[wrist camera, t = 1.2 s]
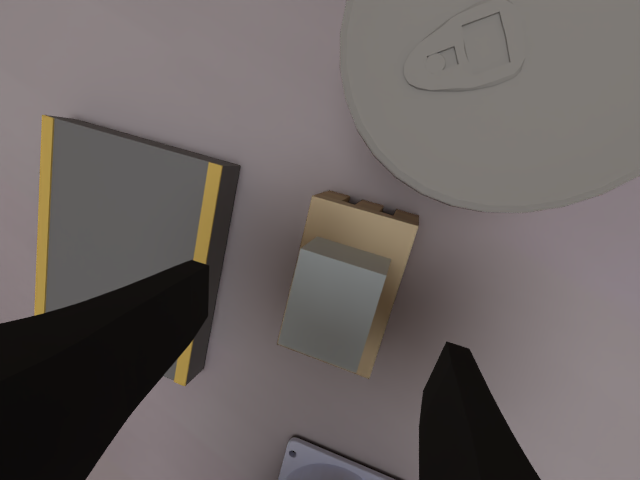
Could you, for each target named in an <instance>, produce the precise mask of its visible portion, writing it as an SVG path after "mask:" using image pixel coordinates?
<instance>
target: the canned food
mask: <svg viewBox="0 0 640 480" xmlns="http://www.w3.org/2000/svg"><path fill="white" fill-rule="evenodd" d="M340 71H341V77H342V83H343V89H344V95H345V99H346V102H347V105H348V107H349V110H350V112H351V115H352V118H353V120H354V123H355V125H356V128H357V130H358V132H359V134H360V135H361V137H362V138H363V140H364V142H365V143H366V145H367V146H368V148H369V149H370V151H371V152H372V154H373V155H374V157H375V158H376V159H377V160H378V161H379V162H380V163H381V164H382V165H383V166H384V167H385V168H386V169H387V170H388V171H389V172H390V173H391V174H392V175H393V176H394V177H396V178H397V179H399V180H400V181H402V182H403V183H405V184H406V185H408V186H409V187H411V188H412V189H414V190H415V191H417V192H418V193H420V194H422V195H425V196H427V197H430V198H432V199H435V200H437V201H440V202H442V203H445V204H447V205H449V206H454V207H460V208H465V209H470V210H475V211H480V212H496V213H527V212H533V211H540V210H547V209H553V208H560V207H565V206H568V205H571V204H574V203H577V202H580V201H583V200H586V199H589V198H593V197H596V196H599V195H602V194H604V193H606V192H608V191H610V190H612V189H614V188H616V187H618V186H620V185H622V184H624V183H626V182H628V181H630V180H632V179H634V178H636V177H638V176H640V0H347V1H346V6H345V11H344V16H343V21H342V26H341V31H340Z"/></svg>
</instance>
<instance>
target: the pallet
mask: <svg viewBox="0 0 640 480" xmlns="http://www.w3.org/2000/svg"><path fill="white" fill-rule="evenodd" d="M349 199H350V196H348V195H344V194H340V193H337V192H333V191H330V190H329V191H326V192H323V193H320V194H317V195H313V196H312V199H311V203H310V207H309V211H308V216H307V220H306V224H305V228H304V232H303V237H302V241H301V245H300V248H302V247H303V246H305V245H306V244H307V243H309V242H310V241H311V240H313V239H314V238H316V237H317V236H318V237H321V238H324V239H328V240H331V241H334V242H337V243H341V244H344V245H347V246H350V247H354V248H357V249H360V250H363V251H367V252H370V253H373V254H376V255H380V256H383V257H386V258H389V259H391V262H390V265H389V269H388V272H387V276H386V279H385V282H384V285H383V288H382V292H381V295H380V298H379V301H378V305H377V308H376V311H375V314H374V317H373V321H372V324H371V327H370V330H369V334H368V337H367V340H366V343H365V346H364V350H363V353H362V356H361V359H360V363H359V366H358V369H357V372H356V373H355V374H357V375H360V376H363V377H365V378H368V379H369V378H370V375H371V372H372V369H373V366H374V362H375V359H376V356H377V353H378V350H379V347H380V344H381V341H382V338H383V335H384V332H385V328H386V325H387V322H388V319H389V316H390V313H391V310H392V307H393V304H394V301H395V298H396V294H397V291H398V288H399V285H400V282H401V279H402V276H403V273H404V270H405V267H406V264H407V260H408V257H409V254H410V251H411V248H412V245H413V242H414V239H415V236H416V233H417V230H418V226H419V215H415V214H412V213H408V212H405V211H401V210H398V209H396V211H395V213H394V215H389V214H386V213H382V210H383V207H384V206H383V205H380V204H376V203H373V202H369V201H365V200H361V201H360V202H358V203H357V204H355V205H354V204H351V203H349ZM299 253H300V249H299ZM299 253H298V257H299ZM297 261H298V258H297ZM296 265H297V262H296ZM295 269H296V266H295ZM294 274H295V270H294ZM294 274H293V278H294ZM292 282H293V279H292ZM291 286H292V283H291ZM290 290H291V287H290ZM289 294H290V291H289ZM288 299H289V295H288ZM287 303H288V300H287ZM286 307H287V304H286ZM285 311H286V308H285ZM284 315H285V312H284ZM283 320H284V316H283ZM283 320H282V324H283ZM281 328H282V325H281ZM280 332H281V329H280ZM279 336H280V333H279ZM278 341H279V337H278ZM278 341H277V344H278ZM278 345H280V344H278ZM280 346H282V345H280ZM283 347H285V346H283ZM286 348H288V347H286ZM288 349H290V348H288ZM291 350H293V349H291ZM293 351H296V350H293ZM296 352H298V351H296ZM299 353H301V352H299ZM301 354H304V353H301ZM304 355H306V354H304ZM307 356H309V355H307ZM309 357H312V356H309ZM312 358H314V357H312ZM315 359H317V358H315ZM317 360H320V359H317ZM320 361H322V360H320ZM323 362H325V361H323ZM325 363H328V362H325ZM328 364H330V363H328ZM331 365H333V364H331ZM333 366H336V365H333ZM336 367H338V366H336ZM339 368H341V367H339ZM341 369H343V368H341ZM344 370H346V369H344ZM347 371H349V370H347ZM349 372H351V371H349ZM352 373H354V372H352Z"/></svg>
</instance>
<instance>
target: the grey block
mask: <svg viewBox="0 0 640 480" xmlns="http://www.w3.org/2000/svg"><path fill="white" fill-rule="evenodd" d="M390 262H391V259H389V258H386V257H383V256H380V255H376V254H373V253H370V252H367V251H363V250H360V249H357V248H354V247H350V246H347V245H344V244H341V243H337V242H334V241H331V240H328V239H324V238H321V237H318V236H317V237H316V238H314V239H313V240H311V241H310V242H309V243H307V244H306V245H305V246H303V247H302V248H300V253H299V257H298V261H297V265H296V269H295V274H294V278H293V282H292V286H291V290H290V294H289V299H288V303H287V307H286V311H285V315H284V320H283V324H282V328H281V332H280V336H279V341H278V344H280V345H282V346H285V347H288V348H290V349H293V350H296V351H298V352H301V353H304V354H306V355H309V356H312V357H314V358H317V359H320V360H322V361H325V362H328V363H330V364H333V365H336V366H338V367H341V368H343V369H346V370H349V371H351V372H354V373H356V372H357V369H358V366H359V363H360V359H361V356H362V353H363V350H364V346H365V343H366V340H367V337H368V334H369V330H370V327H371V324H372V321H373V317H374V314H375V311H376V308H377V305H378V301H379V298H380V295H381V292H382V288H383V285H384V282H385V279H386V276H387V272H388V269H389V265H390Z"/></svg>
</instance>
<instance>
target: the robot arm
mask: <svg viewBox="0 0 640 480" xmlns="http://www.w3.org/2000/svg"><path fill="white" fill-rule="evenodd" d="M208 303H209V265H206V264H203V263H200V262H197V261H194V260H190V261H187V262H184V263H181V264H179V265H176V266H174V267H171V268H169V269H166V270H164V271H162V272H159V273H157V274H154V275H152V276H149V277H147V278H144V279H142V280H139V281H137V282H134V283H132V284H129V285H127V286H124V287H122V288H119V289H116V290H113V291H111V292H108V293H105V294H102V295H100V296H97V297H94V298H91V299H88V300H86V301H83V302H80V303H77V304H73V305H70V306H67V307H64V308H60V309H57V310H53V311H50V312H46V313H43V314H39V315H35V316H32V317H28V318H23V319H19V320H15V321H10V322H6V323H1V324H0V480H86V478H87V477H88V475H89V474H90V472H91V471H92V469H93V468H94V466H95V465H96V463H97V462H98V460H99V459H100V457H101V456H102V454H103V453H104V451H105V450H106V448H107V447H108V446H109V444H110V443H111V441H112V440H113V439H114V437H115V436H116V434H117V433H118V431H119V430H120V429H121V427H122V426H123V424H124V423H125V422H126V420H127V419H128V417H129V416H130V415H131V414H132V412H133V411H134V410H135V408H136V407H137V406H138V405H139V403H140V402H141V401H142V400H143V399H144V398H145V396H146V395H147V394H148V393H149V392H150V391H151V389H152V388H153V387H154V386H155V385H156V384H157V382H158V381H159V380H160V379H161V378H162V377H163V375H164V374H165V373H166V372H167V371H168V370H169V368H170V367H171V366H172V365H173V364H174V363H175V361H176V360H177V359H178V358H179V357H180V355H181V354H182V353H183V352H184V351H185V349H186V348H187V347H188V346H189V345H190V343H191V342H192V340H193V339H194V337H195V336H196V334H197V333H198V332H199V330H200V328H201V327H202V325H203V324H204V322H205V320H206V319H207V317H208ZM291 450H292V451H295V452H296V453H293V452H292V451H291ZM278 480H396V479H393V478H391V477H388V476H386V475H384V474H381V473H379V472H377V471H374V470H372V469H370V468H367V467H365V466H363V465H360V464H358V463H356V462H353V461H351V460H348V459H346V458H344V457H341V456H339V455H337V454H334V453H332V452H330V451H327V450H325V449H323V448H320V447H318V446H316V445H313V444H311V443H308V442H306V441H304V440H301V439H299V438H296V437H293V438H291V439H290V440H289V442H288V444H287V448H286V452H285V455H284V459H283V463H282V466H281V470H280V474H279V478H278ZM419 480H541V479H540V478H539V476H538V475H537V473H536V472H535V470H534V468H533V467H532V465H531V464H530V462H529V460H528V459H527V457H526V455H525V454H524V452H523V450H522V449H521V447H520V445H519V444H518V442H517V440H516V438H515V437H514V435H513V433H512V431H511V430H510V428H509V426H508V424H507V422H506V420H505V419H504V417H503V415H502V413H501V411H500V409H499V407H498V406H497V404H496V402H495V400H494V398H493V396H492V394H491V392H490V390H489V388H488V386H487V384H486V382H485V380H484V378H483V376H482V374H481V372H480V370H479V368H478V365H477V363H476V361H475V359H474V357H473V355H472V353H471V351H470V349H468V348H465V347H462V346H459V345H456V344H453V343H449V342H446V344H445V346H444V348H443V350H442V352H441V354H440V356H439V359H438V361H437V363H436V365H435V367H434V369H433V371H432V373H431V375H430V378H429V380H428V382H427V384H426V386H425V388H424V390H423V397H422V405H421V414H420V423H419Z"/></svg>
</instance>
